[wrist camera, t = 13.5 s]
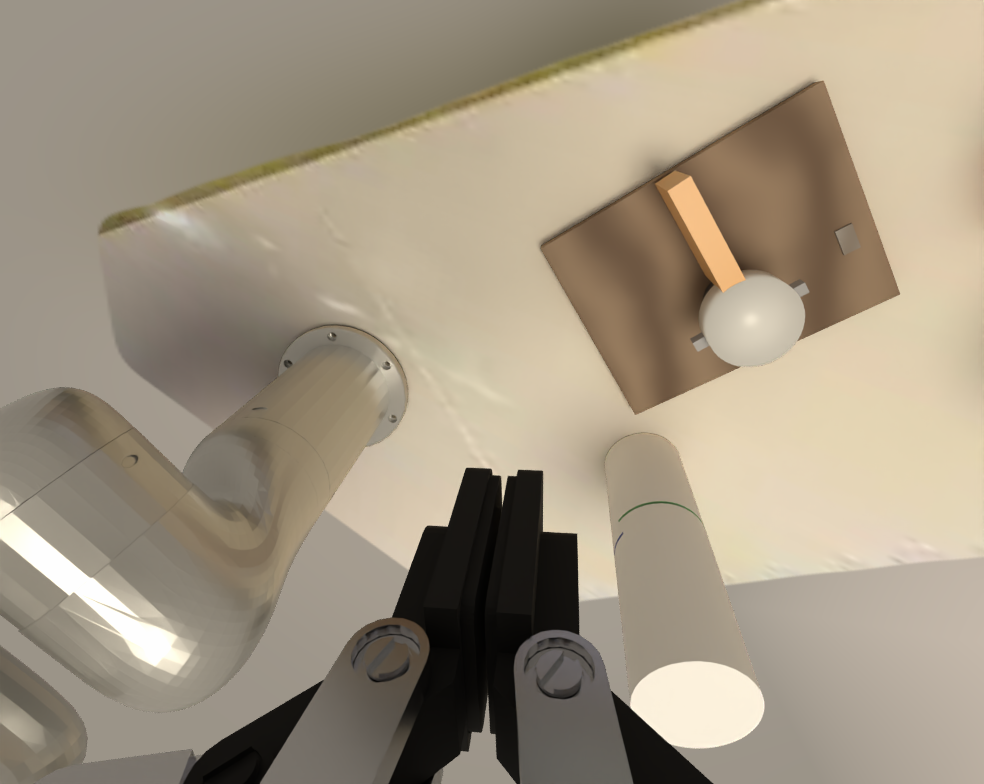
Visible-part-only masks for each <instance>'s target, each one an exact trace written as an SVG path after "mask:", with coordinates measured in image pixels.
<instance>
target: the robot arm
mask: <svg viewBox="0 0 984 784" xmlns="http://www.w3.org/2000/svg"><path fill="white" fill-rule="evenodd" d="M333 333H335V334H336V336H335V335H334V334H333ZM386 361H387V362H389V363H390V364H388V363H387V362H386ZM407 402H408V388H407V383H406V378H405V375H404V373H403V371H402V368H401V366H400V364H399V363H398V361H397V360H396V358H395V357H394V355H393V354H392V353H391V352H390V351H389V350H388V349H387V348H386V347H385V346H384V345H383V344H382V343H381V342H379V341H378V340H377V339H375V338H374V337H372V336H370V335H368V334H367V333H365V332H363V331H360V330H357V329H354V328H351V327H345V326H339V325H334V326H323V327H319V328H315V329H312V330H310V331H308V332H306V333H304V334H303V335H301V336H300V337H299V338H297V339H296V340H295V341H294V342H293V343H292V344H291V345H290V346H289V347H288V348H287V349H286V351H285V353H284V355H283V356H282V359H281V362H280V365H279V369H278V378H276V379H275V380H274V381H273V382H272V383H270V384H269V385H268V386H267V387H266V388H264V389H263V390H262V391H261V392H260V393H258V394H257V395H256V396H255V397H254V398H252V399H251V400H250V401H249V402H248V403H246V404H245V405H244V406H243V407H242V408H240V409H239V410H238V411H237V412H236V413H234V414H233V415H232V416H231V417H230V418H228V419H227V420H226V421H225V422H224V423H222V424H221V425H220V426H218V427H217V428H216V429H215V430H213V431H212V432H211V433H210V434H209V435H208V436H206V437H205V438H204V439H203V440H202V441H201V443H200V444H199V445H198V446H197V447H196V449H195V450H194V451H193V453H192V454H191V456H190V458H189V460H188V461H187V464H186V466H185V468H184V470H183V473H181V472H180V471H179V470H178V469H177V468H176V467H175V466H174V465H173V464H172V463H171V462H170V461H169V460H168V459H167V458H166V457H165V456H164V455H163V454H162V453H161V452H159V450H157V449H156V448H155V447H154V446H153V445H152V444H151V443H150V442H149V441H148V440H147V439H146V438H145V437H144V436H143V435H142V434H141V433H140V432H139V431H138V430H137V429H136V428H134V427H133V426H132V425H131V424H130V423H129V422H128V421H127V420H126V419H125V418H124V417H123V416H122V415H120V414H119V413H118V412H117V411H116V410H114V409H113V408H112V407H111V406H110V405H108V404H107V403H106V402H105V401H103V400H102V399H100V398H98V397H97V396H95V395H93V394H91V393H89V392H86V391H84V390H80V389H75V388H64V387H60V388H53V389H47V390H43V391H39V392H36V393H33V394H30V395H28V396H25V397H23V398H21V399H19V400H17V401H15V402H13V403H10V404H8V405H6V406H4V407H2V408H0V615H1V616H2V617H4V618H5V619H6V620H8V621H9V622H10V623H11V624H13V625H14V626H15V627H17V628H18V629H19V632H20V633H21V634H22V635H24V636H25V637H26V638H28V639H29V640H30V641H32V642H33V643H34V644H35V645H37V646H38V647H39V648H41V649H42V650H43V651H44V652H46V653H47V654H48V655H50V656H51V657H52V658H54V659H55V660H56V661H57V662H59V663H60V664H62V665H63V666H64V667H65V668H66V669H68V670H69V671H71V672H72V673H73V674H74V675H76V676H77V677H78V678H79V679H81V680H82V681H83V682H85V683H86V684H87V685H89V686H90V687H92V688H93V689H95V690H97V691H98V692H99V693H101V694H103V695H104V696H106V697H108V698H110V699H112V700H114V701H116V702H119V703H121V704H123V705H125V706H127V707H130V708H133V709H136V710H140V711H146V712H154V713H167V712H174V711H179V710H183V709H186V708H189V707H191V706H193V705H196V704H198V703H200V702H202V701H204V700H205V699H207V698H209V697H210V696H212V695H213V694H215V693H216V692H217V691H219V690H220V689H221V688H222V687H223V686H224V685H226V684H227V683H228V682H229V681H230V680H231V679H232V678H233V677H234V676H235V675H236V673H237V672H238V671H239V670H240V669H241V668H242V667H243V665H244V664H245V663H246V661H247V660H248V659H249V657H250V656H251V654H252V653H253V651H254V649H255V648H256V646H257V644H258V643H259V641H260V639H261V638H262V636H263V634H264V632H265V630H266V628H267V626H268V624H269V622H270V619H271V617H272V615H273V612H274V609H275V607H276V604H277V602H278V599H279V596H280V593H281V590H282V587H283V585H284V582H285V579H286V577H287V574H288V572H289V569H290V567H291V565H292V563H293V560H294V558H295V556H296V555H297V553H298V551H299V549H300V547H301V545H302V544H303V542H304V540H305V538H306V537H307V535H308V534H309V532H310V530H311V529H312V527H313V526H314V524H315V523H316V521H317V519H318V518H319V516H320V515H321V513H322V512H323V510H324V509H325V507H326V506H327V504H328V503H329V501H330V500H331V498H332V497H333V495H334V494H335V492H336V491H337V489H338V488H339V486H340V484H341V483H342V481H343V480H344V478H345V477H346V475H347V474H348V472H349V471H350V469H351V468H352V466H353V465H354V463H355V462H356V460H357V458H358V457H359V455H360V454H361V452H362V451H363V449H364V448H365V447H368V446H372V445H374V444H377V443H379V442H381V441H383V440H384V439H386V438H387V437H389V436H390V435H391V434H392V432H393V431H394V430H395V429H396V428H397V426H398V425H399V423H400V422H401V420H402V418H403V416H404V413H405V411H406V407H407ZM394 415H395V416H394ZM487 696H488V698H489V716H490V733H491V734H496V752H497V759H498V760H499V762H500V763H501V764H502V766H503V767H504V768H505V769H506V771H507V772H508V773H509V775H510V776H511V777H512V778H513V780H514V781H515V782H516V783H517V784H713V783H712V782H711V781H710V780H709V779H707V778H706V777H705V776H704V775H703V774H702V773H701V772H700V771H699V770H698V769H696V768H695V767H694V766H693V765H692V764H691V763H690V762H689V761H688V760H687V759H685V758H684V757H683V756H682V755H681V754H680V753H679V752H678V751H677V750H676V749H675V748H673V747H672V746H671V745H670V744H669V743H668V742H667V741H666V740H665V739H664V738H663V737H661V736H660V735H659V734H658V733H657V732H656V731H655V730H654V729H653V728H652V727H650V726H649V725H648V724H647V723H646V722H645V721H644V720H643V719H642V718H641V717H640V716H638V715H637V714H636V713H635V712H634V711H633V710H632V709H630V707H629V706H627V705H626V704H625V703H624V702H623V701H622V700H621V699H620V698H619V697H617V696H616V695H615V694H614V693H613V692H612V691H611V689H610V685H609V682H608V677H607V673H606V669H605V665H604V662H603V660H602V658H601V655H600V653H599V652H598V651H597V649H596V648H595V647H594V646H593V645H592V644H591V643H590V642H589V641H587V640H586V639H584V638H583V637H581V636H580V635H579V594H578V548H577V534H573V533H554V532H543V471H535V470H518V472H517V476H508V478H507V484H506V490H505V495H504V501H503V506H502V486H501V476H495V475H492V470H491V469H485V468H466V470H465V473H464V476H463V479H462V482H461V486H460V489H459V492H458V495H457V499H456V502H455V505H454V508H453V512H452V515H451V518H450V521H449V525H448V527H443V526H427V527H426V528H425V530H424V532H423V534H422V537H421V540H420V542H419V545H418V548H417V551H416V553H415V556H414V559H413V561H412V564H411V567H410V570H409V572H408V575H407V578H406V581H405V583H404V586H403V589H402V591H401V594H400V597H399V600H398V602H397V605H396V608H395V611H394V613H393V616H392V618H386V619H380V620H377V621H375V622H372V623H370V624H367V625H366V626H364V627H363V628H361V629H360V630H359V631H357V632H356V633H355V634H354V635H353V636H352V638H351V639H350V640H349V641H348V642H347V644H346V645H345V647H344V649H343V650H342V652H341V654H340V655H339V657H338V658H337V660H336V661H335V663H334V665H333V666H332V668H331V670H330V671H329V673H328V674H327V676H326V678H325V679H324V680H323V681H321V682H319V683H318V684H316V685H314V686H312V687H311V688H309V689H307V690H306V691H304V692H302V693H301V694H299V695H297V696H295V697H294V698H292V699H291V700H289V701H287V702H285V703H284V704H282V705H280V706H279V707H277V708H275V709H274V710H272V711H270V712H269V713H267V714H265V715H263V716H262V717H260V718H258V719H256V720H255V721H253V722H252V723H250V724H248V725H246V726H245V727H243V728H241V729H240V730H238V731H236V732H235V733H233V734H231V735H229V736H228V737H226V738H224V739H223V740H221V741H220V742H218V743H217V744H216V745H214V746H213V747H212V748H210V749H209V750H208V751H206V752H205V753H204V754H203V755H197V756H195V755H194V752H193V750H192V749H188V750H181V751H174V752H166V753H158V754H151V755H143V756H137V757H128V758H121V759H113V760H106V761H99V762H91V763H83V760H84V758H85V756H86V748H87V740H88V737H87V732H86V728H85V725H84V722H83V721H82V719H81V718H80V716H79V715H78V713H77V712H76V710H75V709H74V707H73V706H72V705H71V704H70V703H69V702H68V701H67V700H66V699H65V698H64V697H63V696H62V695H60V694H59V693H58V692H57V691H56V690H55V689H54V688H53V687H52V686H50V685H49V684H48V683H47V682H46V681H45V680H44V679H42V678H41V677H40V676H39V675H38V674H36V673H35V672H34V671H32V670H31V669H30V668H29V667H27V666H26V665H25V664H24V663H22V662H21V661H20V660H19V659H17V658H16V657H15V656H13V655H12V654H11V653H10V652H8V651H7V650H6V649H4V648H3V647H2V646H1V645H0V784H441V781H442V776H443V767H444V766H446V765H447V764H448V763H449V762H451V761H452V760H453V759H454V758H456V757H457V756H458V755H459V754H460V752H461V751H467V752H468V751H469V746H470V739H471V733H472V732H480V733H481V732H482V729H483V724H484V717H485V710H486V703H487ZM82 763H83V764H82Z"/></svg>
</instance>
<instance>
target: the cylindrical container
mask: <svg viewBox="0 0 984 784" xmlns="http://www.w3.org/2000/svg"><path fill="white" fill-rule="evenodd" d="M605 475H606V484H607V494H608V503H609V512H610V521H611V530H612V540H613V549H614V558H615V567H616V577H617V586H618V595H619V605H620V614H621V623H622V632H623V641H624V651H625V660H626V669H627V678H628V687H629V695H630V705H631V709H632V710H633V711H634V712H635V713H636V714H637V715H638V716H640V717H641V718H642V719H643V720H644V721H645V722H646V723H647V724H648V725H649V726H650V727H652V728H653V729H654V730H655V731H656V732H657V733H658V734H659V735H660V736H661V737H663V738H664V739H665V740H666V741H667V742H668V743H669V744H672V745H676V746H680V747H688V748H711V747H717V746H722V745H726V744H729V743H732V742H734V741H737V740H739V739H741V738H743V737H744V736H746V735H747V734H749V733H750V732H751V731H752V730H753V729H754V728H755V727H756V726H757V725H758V723H759V722H760V720H761V719H762V716H763V713H764V699H763V696H762V693H761V690H760V687H759V684H758V682H757V678H756V676H755V673H754V670H753V667H752V664H751V661H750V658H749V655H748V652H747V649H746V646H745V643H744V641H743V638H742V635H741V632H740V629H739V626H738V623H737V620H736V617H735V614H734V611H733V609H732V606H731V603H730V600H729V597H728V594H727V591H726V588H725V585H724V582H723V579H722V577H721V574H720V571H719V568H718V565H717V562H716V559H715V556H714V553H713V550H712V547H711V545H710V542H709V539H708V536H707V533H706V530H705V527H704V524H703V521H702V519H701V516H700V513H699V510H698V507H697V504H696V501H695V499H694V496H693V493H692V490H691V487H690V484H689V481H688V479H687V476H686V473H685V470H684V467H683V464H682V461H681V458H680V456H679V453H678V451H677V449H676V448H675V446H674V445H673V444H672V443H671V442H670V441H668V440H667V439H665V438H663V437H661V436H659V435H655V434H651V433H638V434H633V435H629V436H627V437H625V438H623V439H621V440H619V441H618V442H617V443H615V444H614V445H613V446H612V448H611V449H610V450H609V452H608V454H607V456H606V459H605Z"/></svg>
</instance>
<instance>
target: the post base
mask: <svg viewBox="0 0 984 784" xmlns="http://www.w3.org/2000/svg"><path fill="white" fill-rule="evenodd" d="M674 171H678V172H681V173H684V174H687V175H690V176H691V177H692V179H693V181H694V183H695V185H696V187H697V189H698V190H699V192H700V194H701V196H702V198H703V200H704V202H705V204H706V206H707V207H708V209H709V211H710V213H711V215H712V217H713V219H714V221H715V223H716V225H717V226H718V228H719V230H720V232H721V234H722V236H723V238H724V240H725V242H726V243H727V245H728V247H729V249H730V251H731V253H732V255H733V257H734V259H735V260H736V262H737V264H738V266H739V268H740V270H741V271H743V270H760V271H764V272H768V273H770V274H772V275H774V276H776V277H777V278H779V279H780V280H782V281H783V282H785V283H786V284H788V285H789V284H791V283H793V282H795V281H797V280H799V279H800V280H802V281H803V282H805V284H806V286H807V288H808V290H809V293H807V294H805V295H803V296H802V297H800V298H801V300H802V302H803V305H804V309H805V323H804V327H803V330H802V333H801V335H800V337H799V339H798V340H797V341H799V340H801V339H803V338H805V337H807V336H810V335H812V334H814V333H816V332H818V331H821V330H823V329H825V328H827V327H829V326H832V325H834V324H836V323H838V322H840V321H843V320H845V319H847V318H849V317H851V316H854V315H856V314H858V313H860V312H862V311H865V310H867V309H869V308H871V307H873V306H875V305H878V304H880V303H882V302H884V301H886V300H889V299H891V298H893V297H895V296H897V295H900V292H899V290H898V287H897V284H896V281H895V278H894V276H893V273H892V270H891V267H890V264H889V262H888V259H887V256H886V253H885V250H884V248H883V245H882V242H881V239H880V237H879V234H878V231H877V228H876V225H875V223H874V220H873V217H872V214H871V211H870V209H869V206H868V203H867V200H866V198H865V195H864V192H863V189H862V186H861V184H860V181H859V178H858V175H857V172H856V170H855V167H854V164H853V161H852V158H851V156H850V153H849V150H848V147H847V145H846V142H845V139H844V136H843V133H842V131H841V128H840V125H839V122H838V119H837V117H836V114H835V111H834V108H833V106H832V103H831V100H830V97H829V94H828V92H827V89H826V86H825V83H824V81H820V82H815V83H813V84H811V85H810V86H808V87H806V88H805V89H803V90H801V91H800V92H798V93H796V94H795V95H793V96H791V97H790V98H788V99H786V100H785V101H783V102H781V103H780V104H778V105H776V106H775V107H773V108H771V109H770V110H768V111H766V112H765V113H763V114H761V115H759V116H758V117H756V118H754V119H753V120H751V121H749V122H748V123H746V124H744V125H743V126H741V127H739V128H738V129H736V130H734V131H733V132H731V133H729V134H728V135H726V136H724V137H723V138H721V139H719V140H718V141H716V142H714V143H713V144H711V145H709V146H708V147H706V148H704V149H702V150H701V151H699V152H697V153H696V154H694V155H692V156H691V157H689V158H687V159H686V160H684V161H682V162H681V163H679V164H677V165H676V166H674V167H672V168H671V169H669V170H667V171H666V172H664V173H662V174H661V175H659V176H657V177H656V178H654V179H652V180H650V181H649V182H647V183H645V184H644V185H642V186H640V187H639V188H637V189H635V190H634V191H632V192H630V193H629V194H627V195H625V196H624V197H622V198H620V199H619V200H617V201H615V202H614V203H612V204H610V205H609V206H607V207H605V208H604V209H602V210H600V211H598V212H597V213H595V214H593V215H592V216H590V217H588V218H587V219H585V220H583V221H582V222H580V223H578V224H577V225H575V226H573V227H572V228H570V229H568V230H567V231H565V232H563V233H562V234H560V235H558V236H557V237H555V238H553V239H552V240H550V241H548V242H546V243H545V244H543V245H542V246H541V250H542V252H543V254H544V255H545V257H546V259H547V261H548V262H549V264H550V266H551V268H552V269H553V271H554V273H555V275H556V276H557V278H558V280H559V282H560V283H561V285H562V287H563V289H564V291H565V292H566V294H567V296H568V298H569V299H570V301H571V303H572V305H573V306H574V308H575V310H576V312H577V313H578V315H579V317H580V319H581V320H582V322H583V324H584V326H585V327H586V329H587V331H588V333H589V334H590V336H591V338H592V340H593V341H594V343H595V345H596V347H597V348H598V350H599V352H600V354H601V355H602V357H603V359H604V361H605V363H606V364H607V366H608V368H609V370H610V371H611V373H612V375H613V377H614V378H615V380H616V382H617V384H618V385H619V387H620V389H621V391H622V392H623V394H624V396H625V398H626V399H627V401H628V403H629V405H630V406H631V408H632V410H633V412H634V413H635V415H636V414H639V413H641V412H643V411H645V410H647V409H650V408H652V407H654V406H656V405H658V404H661V403H663V402H665V401H667V400H669V399H672V398H674V397H676V396H678V395H680V394H683V393H685V392H687V391H689V390H691V389H693V388H696V387H698V386H700V385H702V384H704V383H707V382H709V381H711V380H713V379H715V378H718V377H720V376H722V375H724V374H726V373H729V372H731V371H733V370H735V369H737V368H740V366H736V365H732V364H730V363H727V362H725V361H724V360H722V359H721V358H720V357H718V356H717V355H716V354H715V353H714V351H713V350H712V348H711V347H710V346H708V347H706V348H704V349H702V350H700V351H697V350H696V348H695V346H694V345H693V343H692V341H691V340H690V338H692V337H694V336H696V335H698V334H699V333H701V330H700V327H699V310H700V306H701V303H702V301H703V299H704V297H705V295H706V294H707V293H708V291H709V290H710V289H711V288H712V287H713V286H714V284H713V283H712V282H711V281H710V280H709V279H708V278H707V277H706V276H705V274H704V272H703V270H702V269H701V267H700V265H699V263H698V261H697V260H696V258H695V256H694V254H693V252H692V250H691V249H690V247H689V245H688V243H687V241H686V240H685V238H684V236H683V234H682V232H681V231H680V229H679V227H678V225H677V223H676V221H675V220H674V218H673V216H672V214H671V212H670V211H669V209H668V207H667V205H666V203H665V202H664V200H663V198H662V196H661V194H660V192H659V191H658V189H657V187H656V185H655V183H657V182H658V181H660V180H661V179H663V178H664V177H666V176H667V175H669V174H670V173H672V172H674Z"/></svg>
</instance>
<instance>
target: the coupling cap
mask: <svg viewBox="0 0 984 784" xmlns="http://www.w3.org/2000/svg"><path fill="white" fill-rule="evenodd" d="M655 185H656V187H657V189H658V191H659V192H660V194H661V196H662V198H663V200H664V202H665V203H666V205H667V207H668V209H669V211H670V212H671V214H672V216H673V218H674V220H675V221H676V223H677V225H678V227H679V229H680V231H681V232H682V234H683V236H684V238H685V240H686V241H687V243H688V245H689V247H690V249H691V250H692V252H693V254H694V256H695V258H696V260H697V261H698V263H699V265H700V267H701V269H702V270H703V272H704V274H705V276H706V277H707V278H708V279H709V280H710V281H711V282H712V283H713V284H714V286H713V287H712V288H711V289H710V290H709V291H708V293H707V294H706V295H705V297H704V299H703V301H702V303H701V306H700V310H699V327H700V330H701V333H699V334H698V335H696V336H694V337H692V338H690V340H691V341H692V343H693V345H694V346H695V348H696V350H697V351H700V350H702V349H704V348H706V347H708V346H710V347H711V348H712V350H713V351H714V353H715V354H716V355H717V356H718V357H720V358H721V359H722V360H724V361H725V362H727V363H730V364H732V365H736V366H740V367H757V366H762V365H765V364H768V363H771V362H773V361H775V360H777V359H779V358H780V357H782V356H783V355H784V354H786V353H787V352H788V351H789V350H790V349H791V348H792V347H793V346H794V345H795V343H796V342H797V340H798V339H799V337H800V335H801V333H802V330H803V327H804V323H805V309H804V305H803V302H802V300H801V298H800V297H802V296H803V295H805V294H807V293H809V290H808V288H807V286H806V284H805V282H803V281H802V280H800V279H799V280H797V281H795V282H793V283H791V284H789V285H788V284H786V283H785V282H783V281H782V280H780V279H779V278H777V277H776V276H774V275H772V274H770V273H768V272H764V271H760V270H743V271H741V270H740V268H739V266H738V264H737V262H736V260H735V259H734V257H733V255H732V253H731V251H730V249H729V247H728V245H727V243H726V242H725V240H724V238H723V236H722V234H721V232H720V230H719V228H718V226H717V225H716V223H715V221H714V219H713V217H712V215H711V213H710V211H709V209H708V207H707V206H706V204H705V202H704V200H703V198H702V196H701V194H700V192H699V190H698V189H697V187H696V185H695V183H694V181H693V179H692V177H691V176H690V175H687V174H684V173H681V172H678V171H674V172H672V173H670V174H669V175H667V176H666V177H664V178H663V179H661V180H660V181H658V182H657V183H655Z"/></svg>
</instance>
